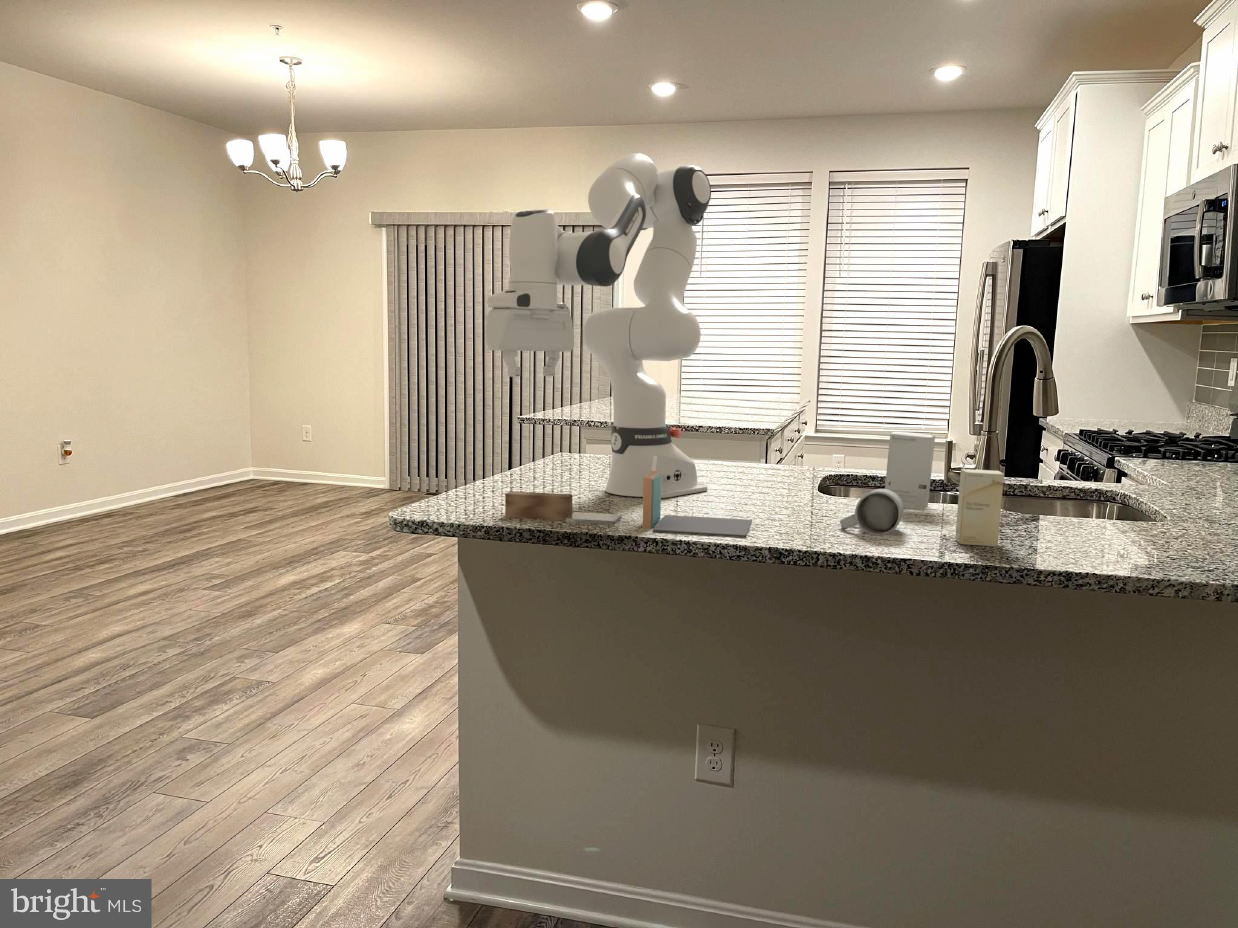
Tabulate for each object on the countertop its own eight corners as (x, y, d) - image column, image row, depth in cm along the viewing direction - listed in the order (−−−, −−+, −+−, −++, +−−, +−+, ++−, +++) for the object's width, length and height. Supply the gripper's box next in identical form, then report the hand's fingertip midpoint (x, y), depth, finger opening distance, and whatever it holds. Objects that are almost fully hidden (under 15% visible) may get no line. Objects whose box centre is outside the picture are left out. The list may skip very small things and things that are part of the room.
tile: (642, 528, 158) (643, 477, 157) (650, 519, 166) (651, 470, 165) (652, 528, 158) (653, 478, 157) (660, 519, 166) (661, 471, 164)
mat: (652, 531, 155) (652, 529, 155) (665, 516, 168) (665, 514, 168) (746, 537, 152) (746, 535, 152) (751, 521, 165) (751, 519, 165)
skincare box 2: (959, 544, 149) (964, 472, 147) (954, 538, 153) (959, 468, 151) (999, 547, 148) (1005, 473, 146) (993, 541, 152) (999, 469, 150)
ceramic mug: (904, 528, 161) (905, 485, 160) (899, 537, 153) (901, 493, 152) (843, 524, 165) (844, 482, 164) (836, 532, 157) (837, 489, 156)
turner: (502, 518, 165) (502, 495, 164) (513, 512, 171) (513, 489, 170) (614, 525, 160) (614, 501, 160) (621, 518, 166) (622, 495, 166)
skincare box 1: (882, 507, 180) (887, 433, 178) (887, 502, 185) (892, 430, 183) (926, 511, 176) (931, 436, 174) (930, 506, 182) (935, 433, 180)
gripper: (557, 303, 175) (556, 375, 176) (480, 297, 158) (480, 376, 160) (582, 303, 171) (580, 376, 173) (506, 296, 155) (505, 377, 156)
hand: (531, 376), depth 166 cm, fingers open, 8 cm apart
